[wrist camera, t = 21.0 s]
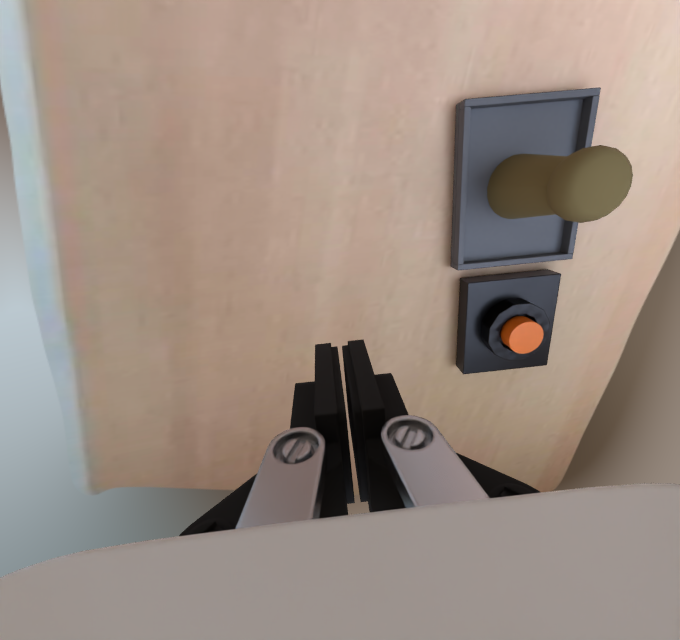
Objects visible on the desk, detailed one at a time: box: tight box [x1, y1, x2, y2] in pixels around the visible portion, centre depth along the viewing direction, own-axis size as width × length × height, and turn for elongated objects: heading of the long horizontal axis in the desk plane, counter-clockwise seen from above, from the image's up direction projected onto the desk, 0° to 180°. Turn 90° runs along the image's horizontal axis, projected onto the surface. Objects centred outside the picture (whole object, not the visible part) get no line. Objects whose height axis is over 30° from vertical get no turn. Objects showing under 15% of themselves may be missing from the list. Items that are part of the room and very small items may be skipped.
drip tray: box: [451, 88, 601, 270], centre depth 33 cm, size 15×12×2 cm
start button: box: [501, 316, 544, 354], centre depth 35 cm, size 4×4×2 cm
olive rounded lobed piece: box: [487, 145, 633, 223], centre depth 28 cm, size 6×6×11 cm
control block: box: [456, 269, 561, 374], centre depth 37 cm, size 11×10×4 cm
